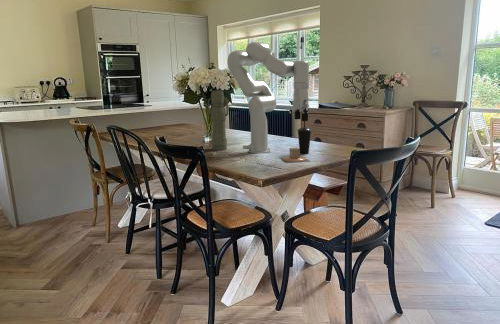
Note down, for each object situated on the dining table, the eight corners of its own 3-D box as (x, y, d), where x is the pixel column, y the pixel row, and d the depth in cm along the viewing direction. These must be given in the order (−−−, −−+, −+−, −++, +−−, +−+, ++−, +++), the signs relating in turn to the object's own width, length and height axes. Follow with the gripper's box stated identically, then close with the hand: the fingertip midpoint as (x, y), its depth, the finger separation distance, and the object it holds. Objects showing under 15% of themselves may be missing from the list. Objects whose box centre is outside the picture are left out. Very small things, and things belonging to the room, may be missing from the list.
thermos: (230, 149, 224) (228, 90, 216) (210, 151, 222) (207, 90, 214) (228, 147, 233) (226, 89, 225) (209, 148, 230) (206, 90, 222)
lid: (286, 162, 187) (286, 151, 186) (279, 157, 198) (279, 147, 197) (309, 161, 189) (309, 149, 188) (301, 156, 201) (301, 145, 199)
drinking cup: (303, 152, 213) (303, 116, 209) (314, 153, 208) (314, 117, 203) (294, 154, 209) (294, 117, 204) (304, 156, 203) (305, 119, 198)
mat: (286, 163, 186) (286, 163, 186) (278, 158, 199) (278, 157, 199) (311, 162, 189) (311, 161, 189) (302, 156, 201) (302, 156, 201)
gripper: (288, 86, 197) (288, 118, 201) (300, 86, 181) (300, 122, 184) (301, 85, 199) (301, 118, 203) (315, 86, 182) (314, 121, 186)
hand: (301, 120), depth 193 cm, fingers open, 9 cm apart
